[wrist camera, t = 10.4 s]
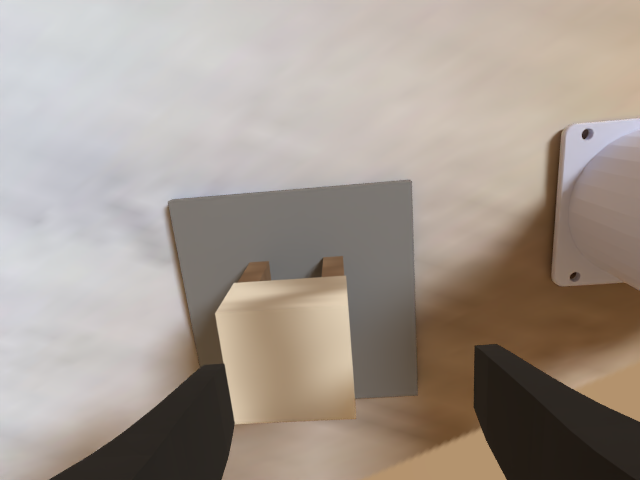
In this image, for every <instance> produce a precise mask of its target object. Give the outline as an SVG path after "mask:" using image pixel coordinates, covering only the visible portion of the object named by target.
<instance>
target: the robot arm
mask: <svg viewBox="0 0 640 480" xmlns="http://www.w3.org/2000/svg"><path fill="white" fill-rule="evenodd" d="M585 129H587V130H588V133H589V134H588V137H587V138H586V139H583V138H582V132H583V131H584V130H585ZM574 272H576V276H575V277H574V278H572V279H570V275H571V274H572V273H574ZM551 277H552V280H553V282H554V283H556V284H557V285H559V286H563V287H564V286H579V285H594V284H610V283H627V284H628V285H630V286H632V287H634V288H635V289H637V290H639V291H640V118H634V119H623V120H611V121H600V122H589V123H578V124H571V125H568V126H567V127H565V128H564V130H563V131H562V134H561V144H560V159H559V173H558V187H557V201H556V216H555V230H554V244H553V258H552V272H551ZM474 409H475V412H476V415H477V417H478V420H479V423H480V426H481V428H482V431H483V433H484V436H485V438H486V441H487V443H488V445H489V447H490V449H491V450H492V452H493V454H494V456H495V458H496V460H497V462H498V464H499V466H500V468H501V470H502V471H503V473H504V475H505V477H506V479H507V480H640V422H638V421H636V420H634V419H632V418H630V417H628V416H625V415H623V414H621V413H619V412H617V411H614V410H612V409H610V408H608V407H606V406H604V405H602V404H600V403H598V402H595V401H594V400H592V399H590V398H588V397H586V396H585V395H582V394H581V393H579V392H577V391H575V390H573V389H571V388H570V387H568V386H566V385H564V384H563V383H561V382H559V381H557V380H556V379H554V378H552V377H551V376H549V375H547V374H546V373H544V372H542V371H541V370H539V369H537V368H536V367H534V366H532V365H531V364H529V363H528V362H526V361H524V360H523V359H521V358H519V357H518V356H516V355H515V354H513V353H511V352H510V351H508V350H506V349H505V348H503V347H501V346H499V345H497V344H491V345H477V346H475V359H474ZM234 424H235V421H234V415H233V410H232V404H231V398H230V392H229V387H228V381H227V375H226V369H225V364H209V365H203V366H202V367H201V368H199V369H198V370H197V371H196V372H195V373H193V374H192V375H191V376H190V377H189V378H188V379H187V380H185V381H184V382H183V383H182V384H181V385H180V386H179V387H178V388H176V389H175V390H174V391H173V392H172V393H171V394H170V395H168V396H167V397H166V398H165V399H164V400H163V401H162V402H160V403H159V404H158V405H157V406H156V407H155V408H153V409H152V410H151V411H150V412H148V413H147V414H146V415H145V416H143V417H142V418H141V419H140V420H138V421H137V422H136V423H135V424H133V425H132V426H131V427H130V428H128V429H127V430H126V431H124V432H123V433H122V434H120V435H119V436H117V437H116V438H115V439H113V440H112V441H111V442H109V443H108V444H106V445H105V446H103V447H102V448H100V449H99V450H97V451H96V452H94V453H93V454H91V455H90V456H88V457H86V458H85V459H83V460H82V461H80V462H78V463H76V464H75V465H73V466H71V467H70V468H68V469H66V470H65V471H63V472H61V473H59V474H58V475H56V476H54V477H53V478H51V479H49V480H221V479H222V476H223V473H224V469H225V466H226V463H227V460H228V456H229V451H230V446H231V441H232V436H233V430H234Z"/></svg>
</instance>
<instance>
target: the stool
mask: <svg viewBox="0 0 640 480" xmlns="http://www.w3.org/2000/svg"><path fill="white" fill-rule="evenodd" d="M215 316H216V322H217V328H218V334H219V340H220V346H221V351H222V357H223V363H224V364H225V369H226V375H227V381H228V387H229V392H230V398H231V404H232V410H233V415H234V421H235V424H251V423H274V422H296V421H318V420H340V419H356V408H355V393H354V378H353V364H352V350H351V336H350V322H349V308H348V294H347V281H346V276H344V263H343V256H335V257H323V266H322V277H317V278H302V279H287V280H272V281H271V274H270V266H269V261H262V262H250V263H249V264H248V266H247V268H246V269H245V271H244V273H243V274H242V276H241V278H240V279H239V281H238V283H233V285H232V287H231V288H230V290H229V292H228V293H227V295H226V296H225V298H224V300H223V301H222V303H221V305H220V306H219V308H218V309H217V311H216V313H215Z"/></svg>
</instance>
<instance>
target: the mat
mask: <svg viewBox="0 0 640 480" xmlns="http://www.w3.org/2000/svg"><path fill="white" fill-rule="evenodd" d="M168 206H169V211H170V216H171V221H172V226H173V231H174V237H175V242H176V247H177V252H178V257H179V262H180V267H181V273H182V278H183V283H184V288H185V293H186V298H187V303H188V309H189V314H190V319H191V324H192V329H193V334H194V339H195V345H196V350H197V355H198V360H199V365H200V368H201V367H202V366H203V365H209V364H224V363H223V357H222V351H221V346H220V340H219V334H218V328H217V322H216V316H215V313H216V311H217V309H218V308H219V306H220V305H221V303H222V301H223V300H224V298H225V296H226V295H227V293H228V292H229V290H230V288H231V287H232V285H233V283H238V281H239V279H240V278H241V276H242V274H243V273H244V271H245V269H246V268H247V266H248V264H249V263H250V262H262V261H269V266H270V274H271V281H272V280H287V279H302V278H317V277H322V266H323V257H335V256H343V263H344V276H346V281H347V294H348V308H349V322H350V336H351V350H352V364H353V378H354V393H355V399H357V398H376V397H396V396H415V395H418V386H417V350H416V314H415V278H414V242H413V206H412V181H411V180H401V181H389V182H377V183H365V184H353V185H341V186H329V187H317V188H305V189H293V190H281V191H269V192H256V193H244V194H232V195H220V196H208V197H196V198H184V199H172V200H170V201H168Z"/></svg>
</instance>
